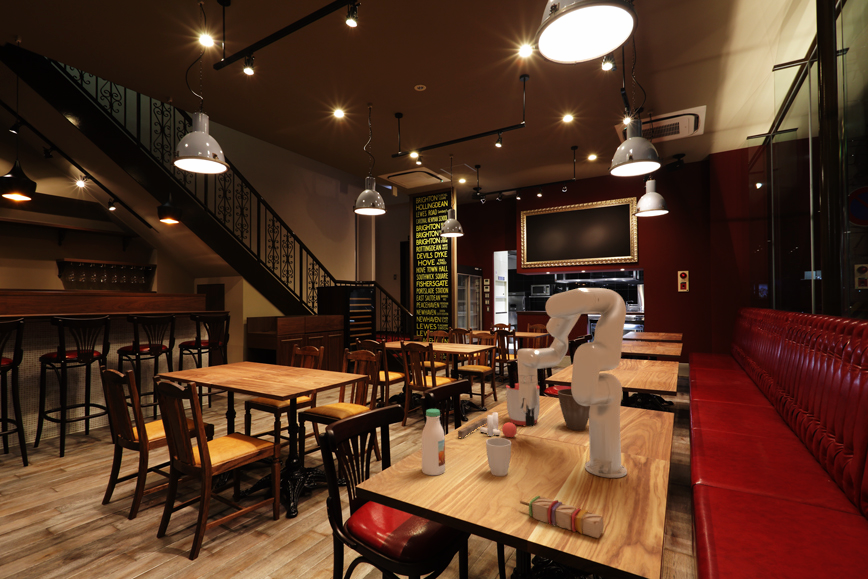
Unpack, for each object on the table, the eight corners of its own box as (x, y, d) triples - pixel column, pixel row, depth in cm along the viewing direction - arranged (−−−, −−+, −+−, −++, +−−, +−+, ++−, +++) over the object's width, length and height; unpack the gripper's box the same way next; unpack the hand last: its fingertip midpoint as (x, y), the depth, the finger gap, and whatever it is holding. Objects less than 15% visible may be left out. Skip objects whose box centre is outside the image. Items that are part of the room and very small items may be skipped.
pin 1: (491, 437, 169) (491, 416, 170) (486, 436, 171) (486, 415, 171) (494, 435, 171) (493, 415, 172) (489, 434, 173) (488, 414, 173)
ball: (498, 424, 169) (501, 439, 168) (511, 423, 166) (514, 438, 165) (504, 421, 174) (507, 436, 173) (517, 420, 171) (520, 435, 170)
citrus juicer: (518, 415, 203) (517, 375, 204) (547, 423, 189) (546, 379, 190) (496, 421, 193) (496, 378, 194) (525, 429, 180) (524, 384, 181)
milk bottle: (431, 478, 129) (431, 414, 130) (417, 470, 135) (416, 409, 136) (450, 471, 134) (449, 410, 135) (435, 465, 140) (434, 406, 141)
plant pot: (591, 435, 171) (589, 396, 171) (555, 430, 178) (554, 393, 179) (596, 426, 183) (595, 390, 184) (562, 422, 191) (561, 387, 192)
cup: (515, 471, 134) (514, 440, 135) (506, 480, 127) (505, 447, 128) (492, 466, 138) (491, 436, 139) (482, 475, 131) (482, 443, 132)
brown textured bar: (462, 439, 168) (462, 431, 168) (458, 438, 169) (458, 430, 169) (487, 424, 188) (487, 418, 188) (483, 424, 189) (483, 417, 189)
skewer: (605, 532, 98) (605, 510, 98) (597, 544, 93) (596, 521, 93) (526, 506, 111) (525, 487, 111) (515, 516, 106) (514, 496, 106)
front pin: (497, 431, 171) (479, 428, 175) (498, 436, 171) (479, 433, 175) (500, 429, 173) (482, 426, 177) (500, 434, 173) (482, 431, 177)
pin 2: (496, 434, 174) (496, 414, 174) (491, 433, 175) (491, 413, 175) (499, 432, 176) (498, 412, 176) (494, 431, 177) (493, 412, 177)
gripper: (525, 376, 174) (527, 420, 172) (512, 381, 161) (514, 428, 160) (542, 377, 170) (545, 422, 168) (530, 382, 157) (533, 431, 156)
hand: (530, 425), depth 164 cm, fingers closed
